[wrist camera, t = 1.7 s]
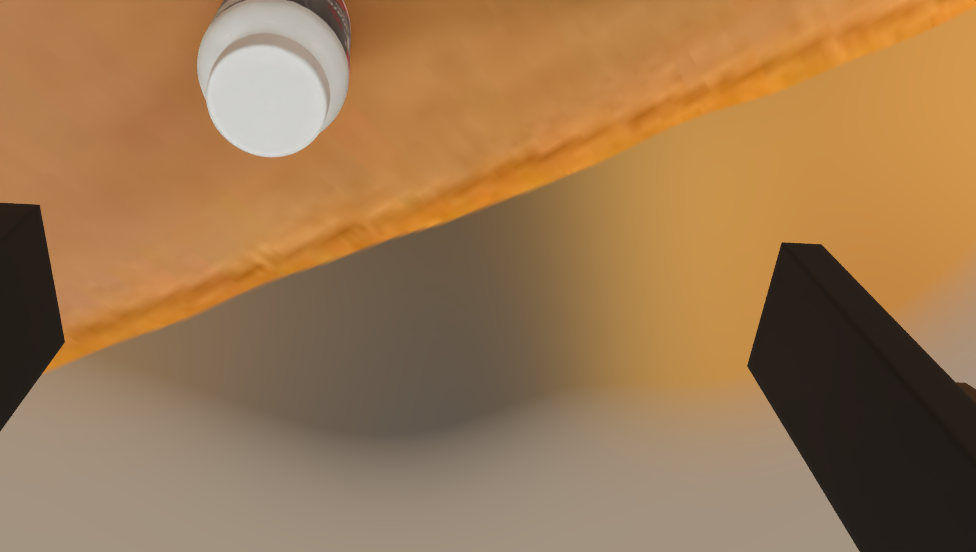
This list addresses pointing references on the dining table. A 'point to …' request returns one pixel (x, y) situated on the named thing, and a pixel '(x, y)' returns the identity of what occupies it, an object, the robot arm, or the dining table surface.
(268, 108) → the pill bottle
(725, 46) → the dining table surface
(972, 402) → the robot arm
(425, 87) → the dining table surface
